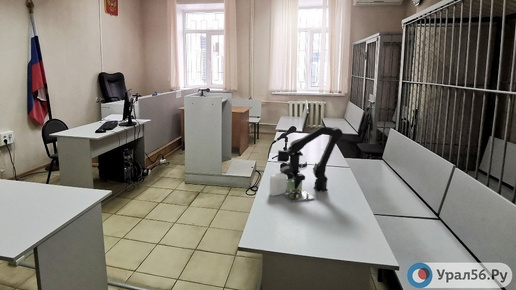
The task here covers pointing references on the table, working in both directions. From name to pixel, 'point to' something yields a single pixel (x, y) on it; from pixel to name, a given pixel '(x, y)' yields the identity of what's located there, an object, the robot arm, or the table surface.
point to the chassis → (298, 196)
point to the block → (292, 184)
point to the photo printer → (277, 184)
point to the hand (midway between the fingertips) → (292, 186)
